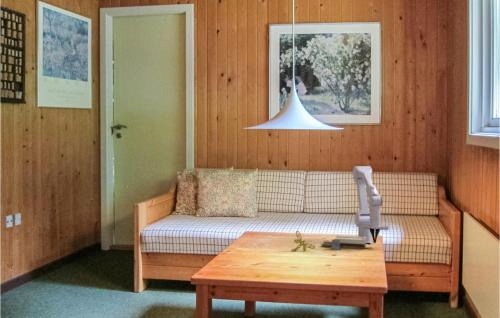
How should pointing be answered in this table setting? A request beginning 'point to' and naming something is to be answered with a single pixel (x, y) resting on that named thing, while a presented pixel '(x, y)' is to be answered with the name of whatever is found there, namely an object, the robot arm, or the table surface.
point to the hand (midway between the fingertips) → (374, 242)
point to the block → (335, 244)
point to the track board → (345, 245)
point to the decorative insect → (301, 243)
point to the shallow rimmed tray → (351, 239)
